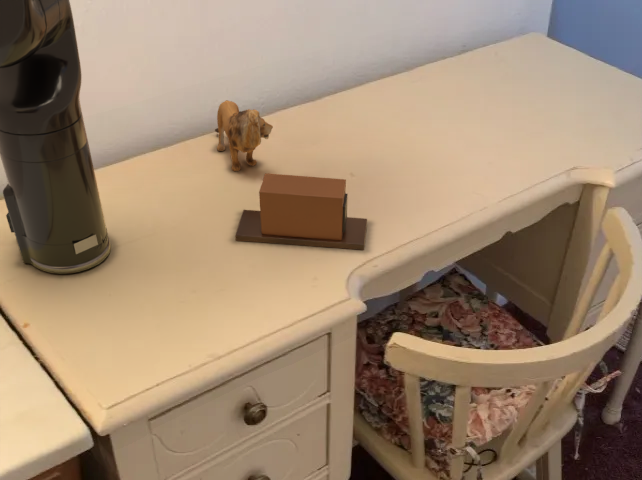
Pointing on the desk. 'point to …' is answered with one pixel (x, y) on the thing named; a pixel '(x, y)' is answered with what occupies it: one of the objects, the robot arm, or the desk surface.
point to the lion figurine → (240, 131)
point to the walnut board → (350, 240)
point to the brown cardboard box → (303, 206)
